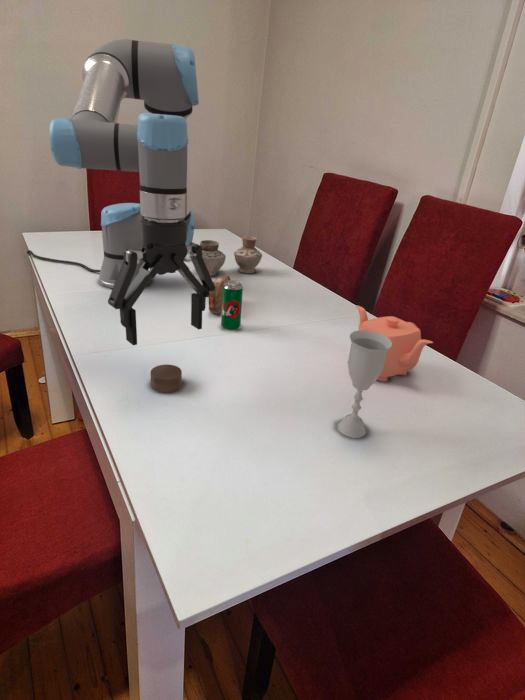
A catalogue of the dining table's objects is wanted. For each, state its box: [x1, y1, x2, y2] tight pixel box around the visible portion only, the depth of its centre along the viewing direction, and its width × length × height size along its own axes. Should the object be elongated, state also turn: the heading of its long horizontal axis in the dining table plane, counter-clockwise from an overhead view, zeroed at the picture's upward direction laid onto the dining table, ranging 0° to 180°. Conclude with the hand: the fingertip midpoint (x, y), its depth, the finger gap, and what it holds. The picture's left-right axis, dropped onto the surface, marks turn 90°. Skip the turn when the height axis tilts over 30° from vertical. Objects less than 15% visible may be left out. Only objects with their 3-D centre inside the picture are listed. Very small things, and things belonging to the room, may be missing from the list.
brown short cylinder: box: [149, 363, 183, 394], centre depth 89 cm, size 6×6×3 cm
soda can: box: [220, 279, 244, 331], centre depth 115 cm, size 5×5×12 cm
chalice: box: [337, 330, 392, 439], centre depth 78 cm, size 7×7×18 cm
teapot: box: [355, 305, 434, 382], centre depth 101 cm, size 15×17×13 cm
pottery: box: [199, 235, 263, 277], centre depth 156 cm, size 11×25×12 cm, turn 116°
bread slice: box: [207, 275, 231, 315], centre depth 126 cm, size 15×3×8 cm, turn 168°
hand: (165, 334), depth 85 cm, fingers open, 13 cm apart
